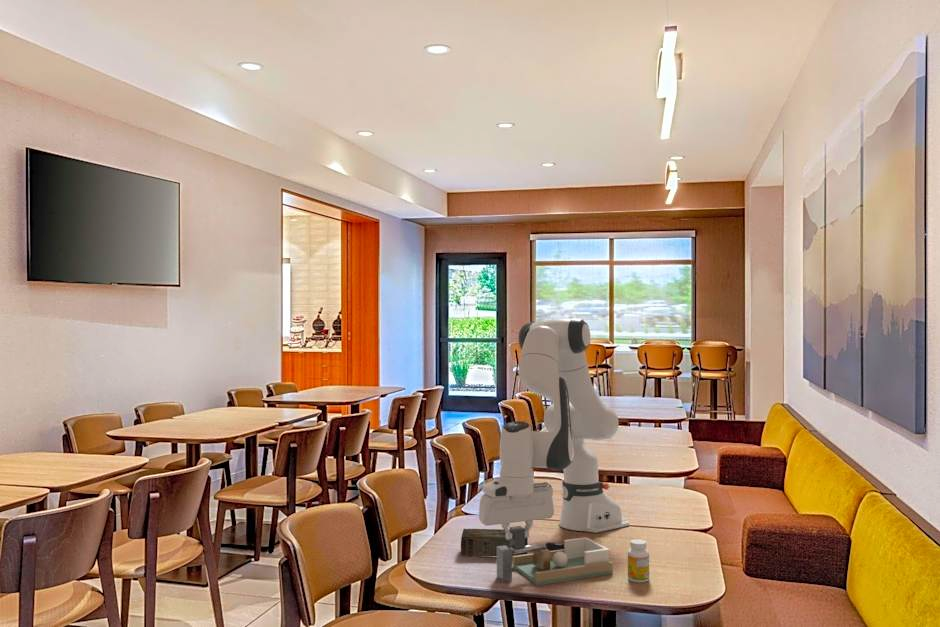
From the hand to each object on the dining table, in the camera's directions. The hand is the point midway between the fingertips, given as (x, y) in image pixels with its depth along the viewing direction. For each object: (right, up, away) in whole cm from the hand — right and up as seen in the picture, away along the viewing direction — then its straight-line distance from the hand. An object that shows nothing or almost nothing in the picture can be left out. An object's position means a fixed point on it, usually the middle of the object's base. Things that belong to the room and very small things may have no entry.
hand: (517, 538), depth 201 cm
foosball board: (+12, -10, +5) cm, 16 cm away
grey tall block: (-3, -10, -1) cm, 11 cm away
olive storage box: (-5, -11, +20) cm, 23 cm away
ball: (+12, -7, +5) cm, 14 cm away
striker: (+3, -9, +1) cm, 9 cm away
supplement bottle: (+31, -10, -2) cm, 33 cm away
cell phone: (+11, -11, +21) cm, 26 cm away
